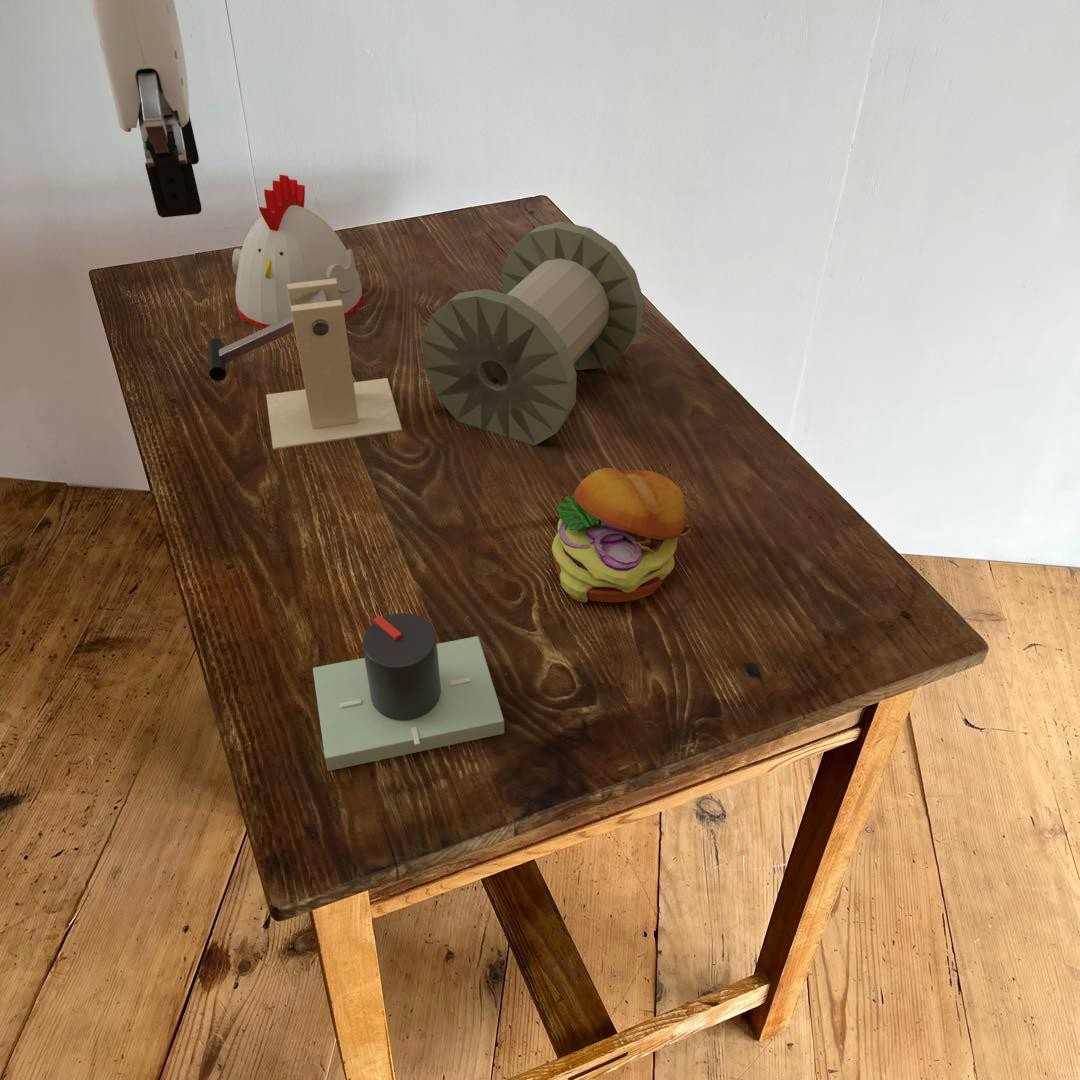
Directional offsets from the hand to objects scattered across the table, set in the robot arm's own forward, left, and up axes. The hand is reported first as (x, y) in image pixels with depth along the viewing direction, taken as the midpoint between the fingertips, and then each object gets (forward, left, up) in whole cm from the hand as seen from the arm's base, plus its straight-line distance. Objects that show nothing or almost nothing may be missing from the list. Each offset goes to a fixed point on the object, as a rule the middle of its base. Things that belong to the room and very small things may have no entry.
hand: (180, 188), depth 80 cm
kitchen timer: (+8, +23, -24) cm, 35 cm away
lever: (+5, 0, -15) cm, 16 cm away
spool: (+29, -1, -24) cm, 38 cm away
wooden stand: (+9, 0, -24) cm, 26 cm away
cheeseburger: (+29, -26, -24) cm, 46 cm away
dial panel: (+10, -38, -24) cm, 46 cm away
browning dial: (+10, -38, -21) cm, 44 cm away
